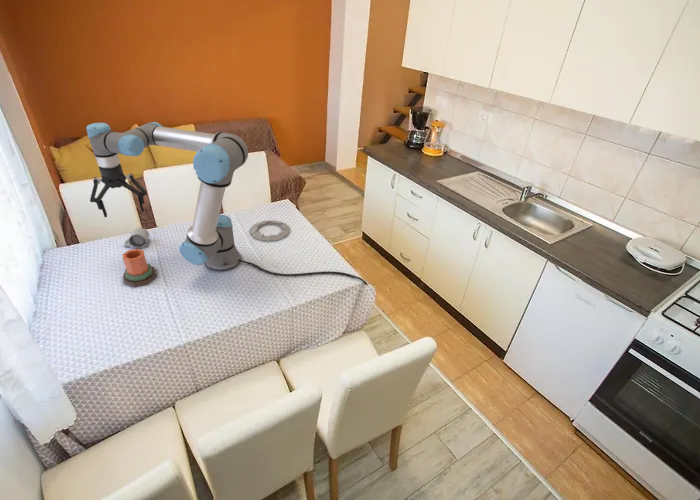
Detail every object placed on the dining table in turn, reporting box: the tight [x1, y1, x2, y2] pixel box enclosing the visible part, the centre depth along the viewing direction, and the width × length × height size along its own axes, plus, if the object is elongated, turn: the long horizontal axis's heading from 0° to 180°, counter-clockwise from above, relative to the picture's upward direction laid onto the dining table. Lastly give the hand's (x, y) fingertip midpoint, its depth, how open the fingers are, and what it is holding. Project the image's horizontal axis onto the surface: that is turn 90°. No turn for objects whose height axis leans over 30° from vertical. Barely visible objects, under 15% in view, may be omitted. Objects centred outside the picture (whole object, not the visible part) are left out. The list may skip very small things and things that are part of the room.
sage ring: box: [124, 263, 153, 281], centre depth 161 cm, size 10×10×2 cm
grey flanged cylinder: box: [124, 227, 150, 249], centre depth 180 cm, size 11×8×8 cm
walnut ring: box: [123, 266, 157, 288], centre depth 162 cm, size 12×12×2 cm
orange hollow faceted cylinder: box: [122, 248, 149, 276], centre depth 158 cm, size 8×8×8 cm
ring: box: [250, 220, 290, 242], centre depth 199 cm, size 19×19×2 cm
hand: (124, 213), depth 158 cm, fingers open, 13 cm apart
